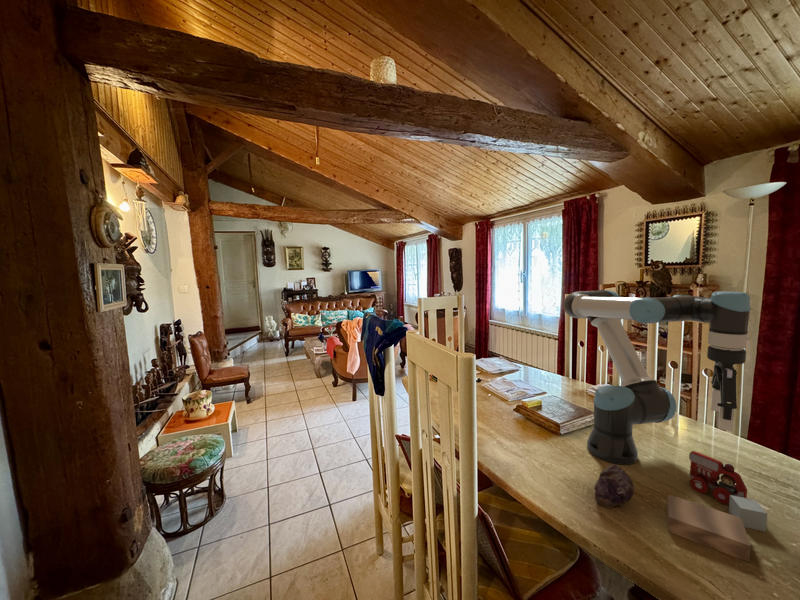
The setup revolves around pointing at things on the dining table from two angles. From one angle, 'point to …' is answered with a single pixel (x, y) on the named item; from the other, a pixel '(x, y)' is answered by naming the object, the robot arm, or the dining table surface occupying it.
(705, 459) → the toy fire truck
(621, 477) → the rock
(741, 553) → the pedestal
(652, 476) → the dining table surface
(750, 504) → the grey cube
